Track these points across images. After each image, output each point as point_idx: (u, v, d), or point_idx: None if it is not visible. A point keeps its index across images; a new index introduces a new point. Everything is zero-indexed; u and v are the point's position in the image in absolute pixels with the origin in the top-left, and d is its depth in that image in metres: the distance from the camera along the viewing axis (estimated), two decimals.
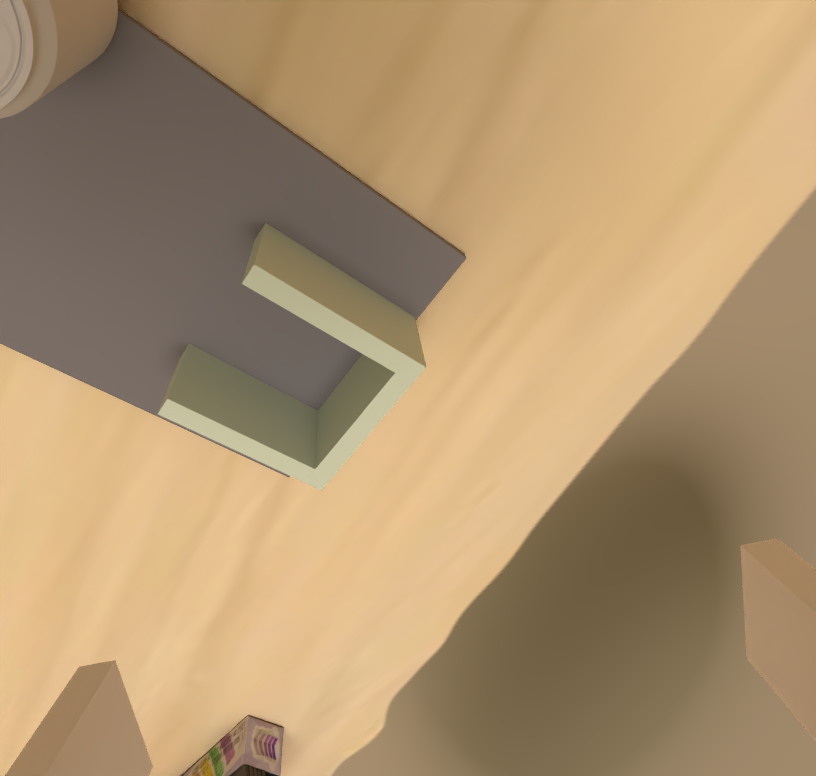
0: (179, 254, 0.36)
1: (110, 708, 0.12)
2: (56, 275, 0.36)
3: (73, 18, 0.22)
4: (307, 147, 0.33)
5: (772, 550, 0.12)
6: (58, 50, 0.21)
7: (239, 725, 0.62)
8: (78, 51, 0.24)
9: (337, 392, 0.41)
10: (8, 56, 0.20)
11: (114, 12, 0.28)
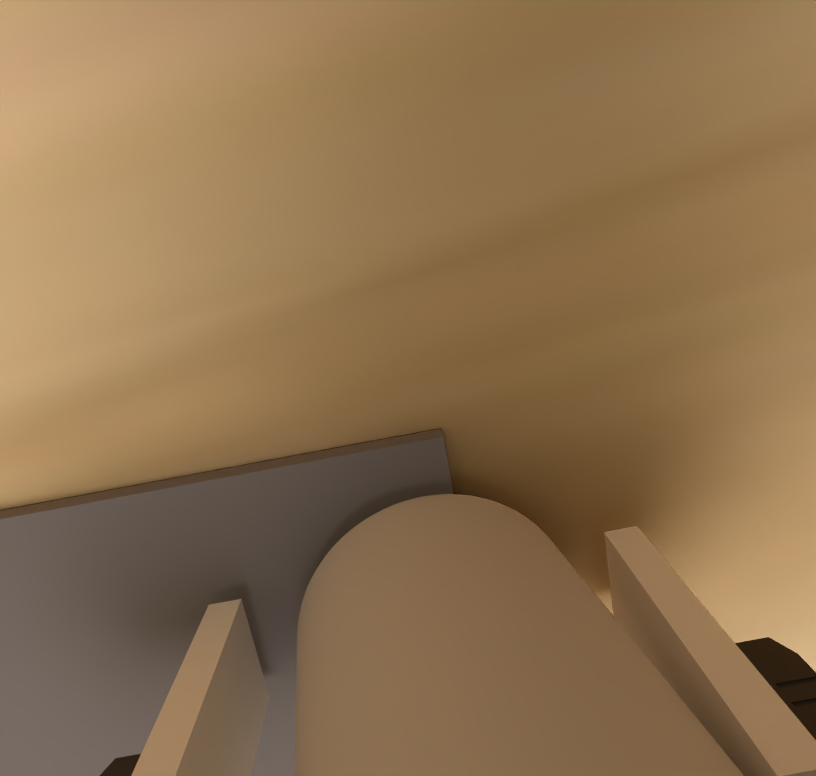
0: None
1: (241, 639, 0.14)
2: None
3: None
4: None
5: (629, 536, 0.14)
6: None
7: None
8: None
9: None
10: None
11: None
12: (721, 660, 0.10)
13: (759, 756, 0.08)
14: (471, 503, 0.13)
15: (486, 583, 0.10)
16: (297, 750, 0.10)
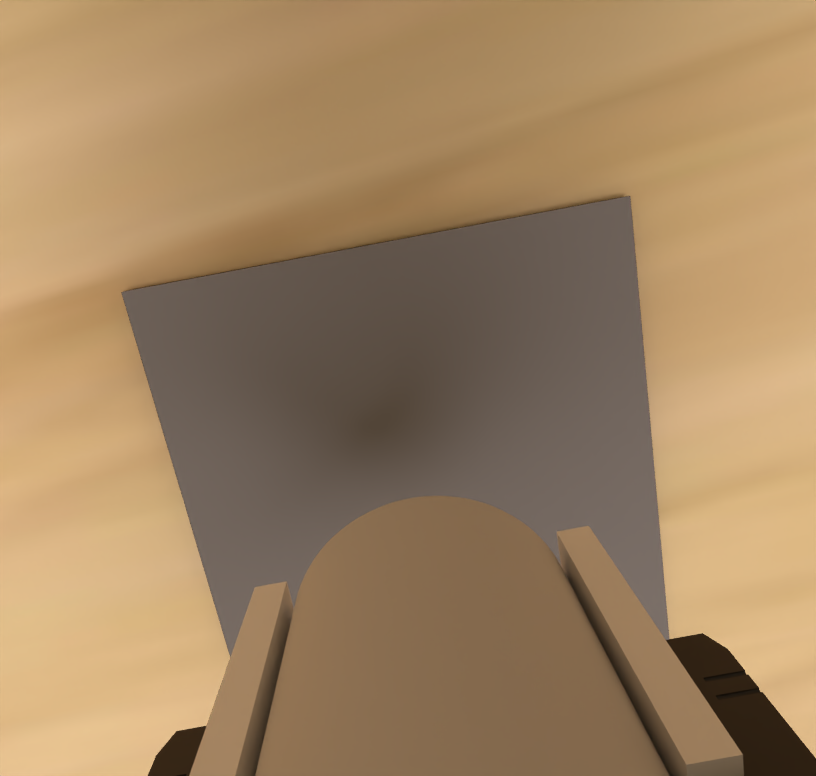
0: None
1: (288, 620, 0.14)
2: (323, 485, 0.27)
3: None
4: (662, 584, 0.29)
5: (579, 535, 0.14)
6: None
7: None
8: None
9: None
10: None
11: None
12: (649, 655, 0.10)
13: (673, 746, 0.09)
14: (464, 506, 0.13)
15: (451, 590, 0.10)
16: None
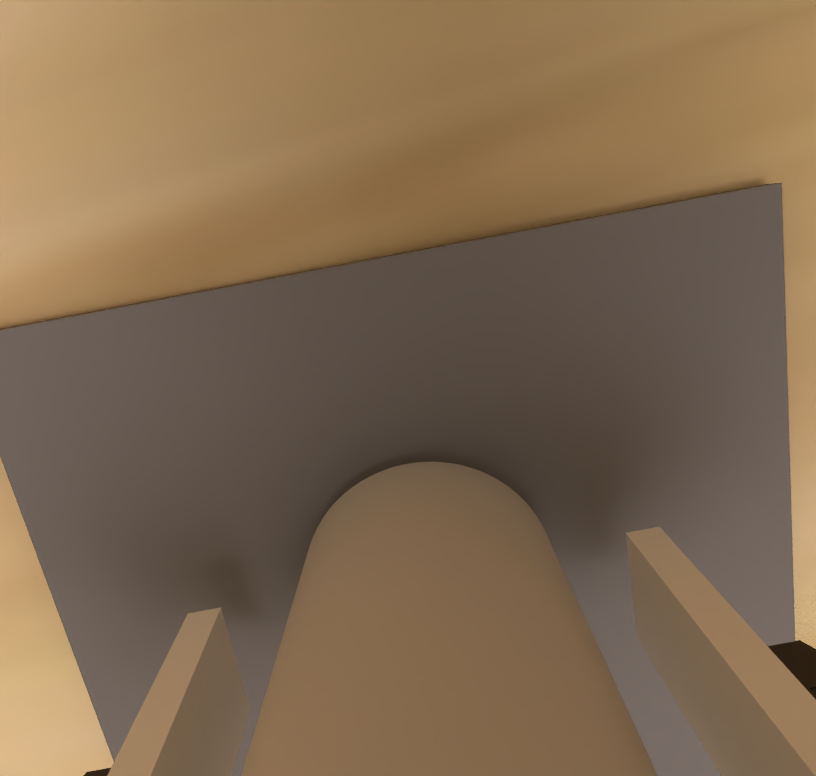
0: None
1: (220, 649, 0.14)
2: None
3: None
4: None
5: (651, 537, 0.14)
6: None
7: None
8: None
9: None
10: None
11: None
12: (755, 664, 0.10)
13: (800, 763, 0.08)
14: (455, 469, 0.15)
15: (436, 531, 0.12)
16: None
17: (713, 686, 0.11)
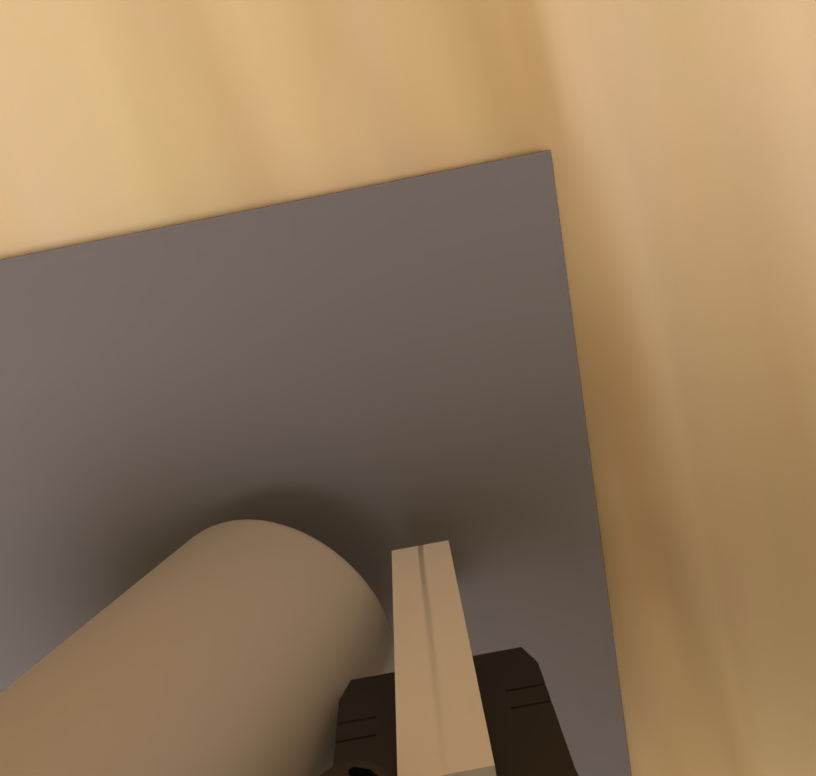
0: None
1: None
2: (224, 460, 0.17)
3: None
4: None
5: (436, 550, 0.15)
6: None
7: None
8: None
9: None
10: None
11: None
12: (452, 669, 0.11)
13: None
14: None
15: None
16: (179, 639, 0.11)
17: None
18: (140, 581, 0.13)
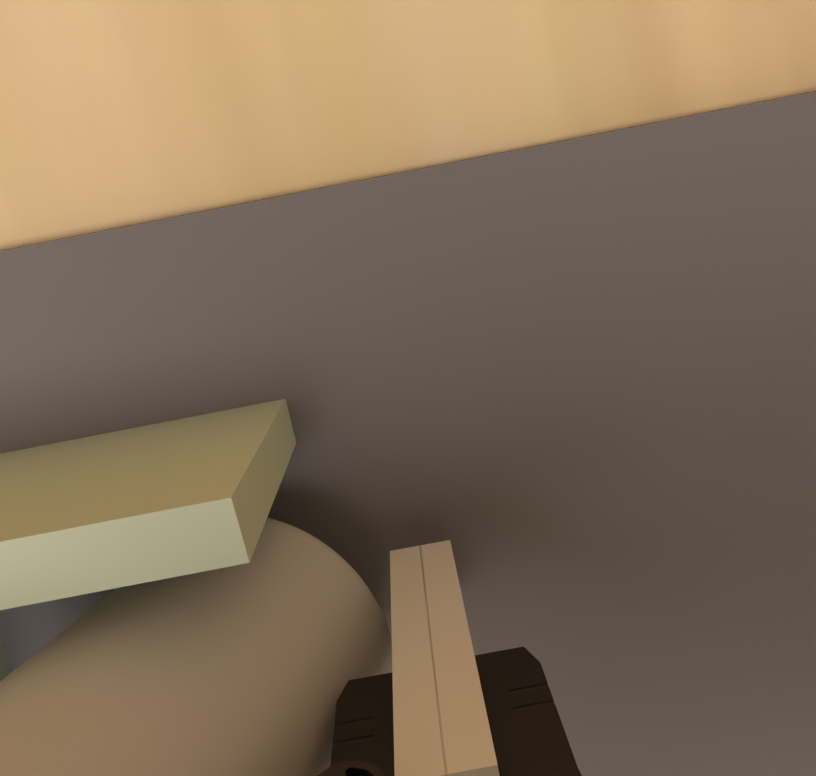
0: None
1: None
2: (600, 382, 0.16)
3: None
4: None
5: (438, 549, 0.15)
6: None
7: None
8: None
9: None
10: None
11: None
12: (454, 668, 0.11)
13: None
14: None
15: None
16: (172, 635, 0.11)
17: None
18: None
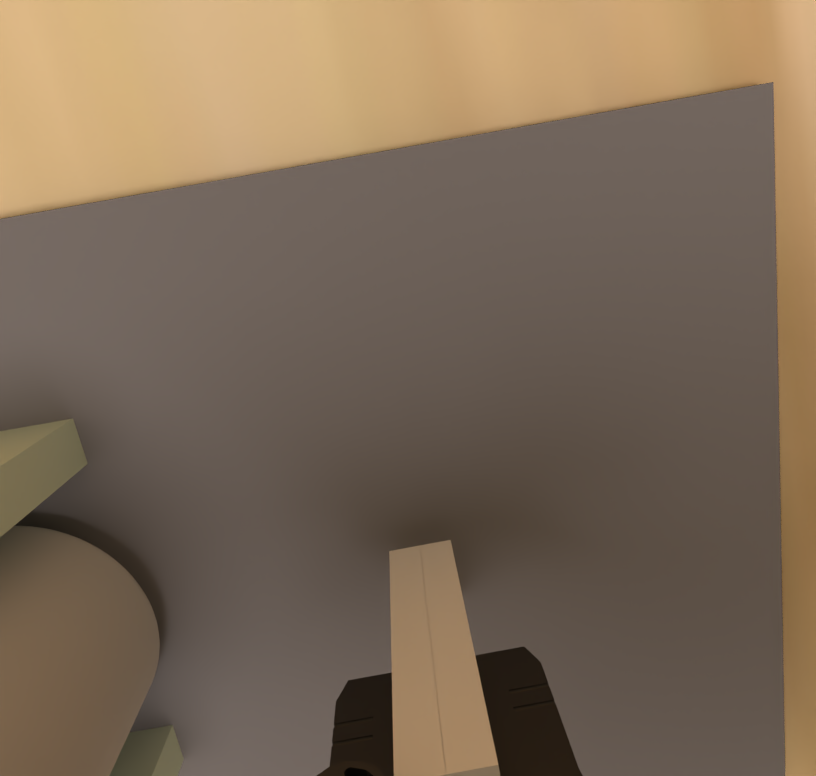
0: (251, 611, 0.17)
1: None
2: (402, 406, 0.16)
3: None
4: None
5: (438, 549, 0.15)
6: None
7: None
8: None
9: None
10: None
11: None
12: (454, 668, 0.11)
13: None
14: (154, 668, 0.16)
15: (102, 751, 0.13)
16: None
17: None
18: None
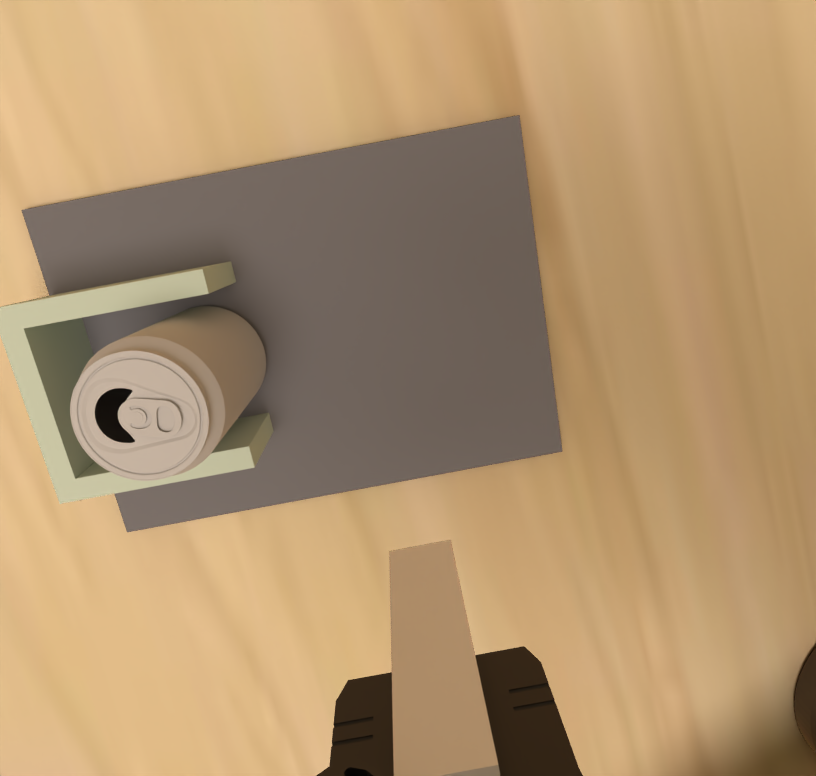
0: (305, 354, 0.38)
1: None
2: (371, 255, 0.37)
3: (118, 437, 0.30)
4: (294, 500, 0.40)
5: (438, 549, 0.15)
6: None
7: None
8: (110, 411, 0.31)
9: (86, 354, 0.37)
10: (91, 430, 0.27)
11: None
12: (454, 668, 0.11)
13: None
14: (264, 372, 0.37)
15: (253, 375, 0.34)
16: (200, 317, 0.33)
17: None
18: None
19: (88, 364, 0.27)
